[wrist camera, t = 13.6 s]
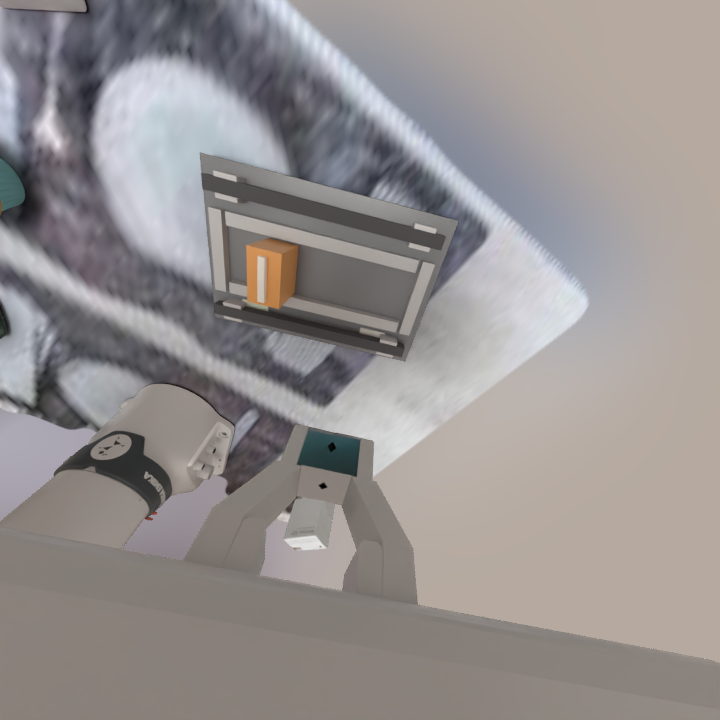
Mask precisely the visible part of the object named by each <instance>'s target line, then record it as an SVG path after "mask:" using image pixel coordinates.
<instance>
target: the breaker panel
mask: <svg viewBox="0 0 720 720" xmlns="http://www.w3.org/2000/svg"><path fill="white" fill-rule="evenodd" d="M200 160H201V171H202V173H206V174H211V175H214V176H216V177H219V178H223V179H227V180H231V181H235V182H241V183H245V184H249V185H253V186H257V187H261V188H265V189H268V190H272V191H276V192H280V193H284V194H288V195H291V196H295V197H299V198H303V199H307V200H311V201H314V202H318V203H322V204H326V205H330V206H333V207H337V208H341V209H345V210H349V211H353V212H356V213H360V214H364V215H368V216H372V217H376V218H379V219H383V220H387V221H391V222H395V223H398V224H402V225H406V226H410V227H413V228H415V229H418V230H422V231H426V232H430V233H434V234H435V233H437V234H441V235H444V236H446V239H445V241H444V244H443V247H442V249H441V251H440V250H436V249H432V248H428V247H425V246H421V245H417V244H413V243H409V242H405V241H401V240H397V239H394V238H390V237H386V236H382V235H378V234H374V233H370V232H366V231H363V230H359V229H355V228H351V227H347V226H343V225H339V224H336V223H332V222H328V221H324V220H320V219H316V218H312V217H308V216H305V215H301V214H297V213H293V212H289V211H285V210H281V209H277V208H274V207H270V206H266V205H262V204H258V203H254V202H250V201H246V200H243V199H239V198H235V197H231V196H227V195H223V194H219V193H215V192H212V191H208V190H204V189H203V192H204V202H205V213H206V224H207V234H208V245H209V255H210V266H211V276H212V287H213V298H214V303H215V302H217V301H219V300H222V301H224V302H223V305H224V306H228V307H232V308H236V309H243V308H244V307H245V306H247V307H251V308H255V309H260V310H264V311H268V312H272V313H276V314H281V315H285V316H289V317H293V318H297V319H302V320H306V321H310V322H314V323H318V324H323V325H327V326H331V327H335V328H339V329H343V330H348V331H352V332H356V333H360V334H364V335H369V336H373V337H377V338H380V343H384V344H388V345H392V346H397V342H398V343H402V344H404V347H405V350H404V352H403V355H402V357H398V356H393V355H389V354H385V353H381V352H376V351H372V350H368V349H364V348H359V347H355V346H351V345H347V344H342V343H338V342H334V341H330V340H325V339H321V338H317V337H313V336H308V335H304V334H300V333H296V332H291V331H287V330H283V329H279V328H274V327H270V326H266V325H262V324H257V323H253V322H249V321H245V320H240V319H236V318H232V317H228V316H223V315H219V314H215V317H218V318H222V319H227V320H231V321H235V322H239V323H244V324H248V325H252V326H257V327H261V328H265V329H269V330H274V331H278V332H282V333H286V334H291V335H295V336H299V337H303V338H308V339H312V340H316V341H320V342H325V343H329V344H333V345H337V346H342V347H346V348H350V349H355V350H359V351H363V352H367V353H372V354H376V355H380V356H384V357H389V358H393V359H397V360H401V361H405V360H406V358H407V355H408V352H409V350H410V347H411V345H412V342H413V339H414V337H415V334H416V332H417V329H418V326H419V324H420V321H421V318H422V316H423V313H424V311H425V308H426V305H427V303H428V300H429V297H430V295H431V292H432V290H433V287H434V284H435V282H436V279H437V277H438V274H439V271H440V269H441V266H442V263H443V261H444V258H445V256H446V253H447V250H448V248H449V245H450V242H451V240H452V237H453V235H454V232H455V229H456V227H457V224H458V222H459V221H456V220H453V219H449V218H445V217H441V216H438V215H434V214H430V213H426V212H423V211H419V210H415V209H411V208H407V207H404V206H400V205H396V204H392V203H389V202H385V201H381V200H377V199H374V198H370V197H366V196H362V195H358V194H355V193H351V192H347V191H343V190H340V189H336V188H332V187H328V186H324V185H321V184H317V183H313V182H309V181H306V180H302V179H298V178H294V177H291V176H287V175H283V174H279V173H275V172H272V171H268V170H264V169H260V168H257V167H253V166H249V165H245V164H241V163H238V162H234V161H230V160H226V159H223V158H219V157H215V156H211V155H207V154H204V153H200ZM267 238H271V239H275V240H279V241H283V242H287V243H291V244H295V245H299V248H298V259H297V271H296V283H295V293H294V294H293V295H292V296H291V297H290V298H289V299H288V300H287V301H286V302H285V303H284V304H283V305H282V306H281V307H280V309H277V308H272V307H268V306H264V305H260V304H256V303H251V302H247V255H246V245H249V244H252V243H255V242H258V241H261V240H264V239H267Z"/></svg>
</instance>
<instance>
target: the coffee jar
mask: <svg viewBox="0 0 720 720" xmlns="http://www.w3.org/2000/svg"><path fill="white" fill-rule="evenodd" d="M6 330H7V329H6V325H5V321H4V318H3V316H2V313H1V311H0V338H2V337H4V336H5V334H6Z"/></svg>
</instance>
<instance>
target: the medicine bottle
mask: <svg viewBox="0 0 720 720" xmlns="http://www.w3.org/2000/svg"><path fill="white" fill-rule="evenodd" d="M0 6H2V7H4V8H11V9H31V10H52V11H72V12H86V10H87V7H86V3H85V0H0Z"/></svg>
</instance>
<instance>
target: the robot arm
mask: <svg viewBox="0 0 720 720" xmlns="http://www.w3.org/2000/svg"><path fill="white" fill-rule="evenodd" d="M120 409H121V410H120V411H119V412H118V413H117V414H116V415H115V416H114V417H113V418H112V419H111V420H110V421H109V422H107V423H106V424H105V425H104V426H103V427H102V428H101V429H100V430H99V431H98V432H97V433H96V434H95V435H94V436H93V437H92V438H91V439H90V441H89V442H88V445H86V446H84V447H83V448H81V449H80V450H79V451H78V452H76V453H75V454H74V455H73V456H70V457H69V458H68V459H67V460H66V461H65V462H64V463H63V464H62V465H61V466H60V467H59V468H58V469H57V470H56V471H55V473H54V477H53V478H52V479H51V480H49V481H48V482H47V483H46V484H45V485H43V486H42V487H41V488H40V489H39V490H37V491H36V492H35V493H34V494H32V495H31V496H30V497H29V498H28V499H27V500H25V501H24V502H23V503H22V504H20V505H19V506H18V507H17V508H16V509H14V510H13V511H12V512H11V513H10V514H8V515H7V516H6V517H5V518H4V519H3V520H1V521H0V720H720V663H718V662H715V661H712V660H708V659H703V658H697V657H693V656H687V655H682V654H676V653H671V652H666V651H660V650H655V649H650V648H645V647H639V646H634V645H629V644H623V643H618V642H613V641H607V640H602V639H596V638H591V637H586V636H581V635H575V634H570V633H564V632H559V631H554V630H549V629H543V628H538V627H533V626H528V625H522V624H517V623H511V622H506V621H501V620H496V619H490V618H484V617H480V616H474V615H469V614H464V613H458V612H453V611H448V610H442V609H437V608H432V607H426V606H421V605H418V603H417V590H416V579H415V566H414V554H413V547H412V545H411V544H410V542H409V540H408V538H407V536H406V535H405V533H404V531H403V529H402V527H401V526H400V524H399V522H398V520H397V518H396V516H395V515H394V513H393V511H392V509H391V507H390V505H389V504H388V502H387V500H386V498H385V496H384V495H383V493H382V491H381V489H380V487H379V485H378V484H377V482H376V481H372V477H373V452H374V442H373V441H372V440H367V439H363V438H359V437H354V436H349V435H344V434H339V433H333V432H329V431H325V430H321V429H316V428H312V427H308V426H303V425H299V424H296V425H295V427H294V429H293V431H292V434H291V436H290V439H289V441H288V444H287V446H286V449H285V451H284V454H283V456H282V459H281V461H275V462H274V463H272V464H271V465H270V466H268V467H267V468H266V469H264V470H263V471H262V472H260V473H259V474H257V475H256V476H255V477H253V478H252V479H251V480H249V481H248V482H247V483H245V484H244V485H243V486H241V487H240V488H239V489H237V490H236V491H235V492H233V493H232V494H231V495H229V496H228V497H227V498H225V499H224V500H223V501H221V502H220V503H219V504H217V505H216V506H215V507H213V508H212V510H211V512H210V514H209V515H208V517H207V519H206V521H205V523H204V525H203V526H202V528H201V530H200V531H199V533H198V535H197V537H196V538H195V540H194V542H193V544H192V546H191V547H190V549H189V551H188V553H187V555H186V556H185V558H184V560H183V561H182V560H176V559H171V558H166V557H160V556H155V555H150V554H144V553H139V552H134V551H128V550H123V549H122V548H123V547H124V546H125V544H126V543H127V541H128V540H129V539H130V538H131V536H132V535H133V533H134V532H135V531H136V529H137V528H138V527H139V525H140V524H141V523H142V521H143V520H144V519H147V520H153V519H152V518H150V517H148V516H150V515H156V514H157V512H155V511H156V510H157V509H158V508H160V507H161V506H162V505H163V503H164V502H165V501H166V500H167V499H168V498H169V497H170V496H173V495H177V494H182V493H187V492H191V491H194V490H196V489H197V488H198V486H200V484H201V483H202V481H203V480H204V479H205V480H208V479H210V477H211V476H212V475H219V474H222V473H223V471H224V470H225V467H226V463H227V459H228V455H229V451H230V447H231V442H232V438H233V434H234V430H235V428H234V426H233V425H232V424H231V423H230V422H229V421H227V420H226V419H224V418H222V417H221V416H220V415H218V414H217V413H216V411H215V410H214V409H213V408H212V407H211V406H210V405H209V404H208V403H207V402H206V401H204V400H203V399H202V398H200V397H199V396H197V395H195V394H194V393H192V392H190V391H188V390H185V389H183V388H180V387H177V386H173V385H168V384H152V385H148V386H145V387H143V388H142V389H141V390H140V391H139V392H138V393H137V395H136V396H135V397H134V398H131V399H128V400H126V401H124V402H123V403H122V404H121V405H120ZM296 496H299V497H305V498H310V499H316V500H321V501H325V502H330V503H334V504H338V505H342V508H343V511H344V514H345V517H346V520H347V523H348V526H349V529H350V532H351V534H352V538H353V541H354V543H355V546H356V549H357V551H356V552H355V555H354V556H353V558H352V560H351V562H350V564H349V566H348V569H347V570H346V572H345V574H344V581H343V589H342V591H341V590H336V589H331V588H325V587H320V586H315V585H309V584H304V583H298V582H293V581H288V580H282V579H277V578H272V577H267V576H261V575H260V572H261V569H262V566H263V563H264V559H265V540H266V529H267V527H268V526H269V525H270V524H271V523H272V522H273V521H274V520H275V519H276V518H277V517H278V516H279V515H280V514H281V513H282V512H283V511H284V510H285V509H286V508H287V506H288V505H289V504H290V503H291V502H292V501H293V500H294V499H295V498H296Z"/></svg>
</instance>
